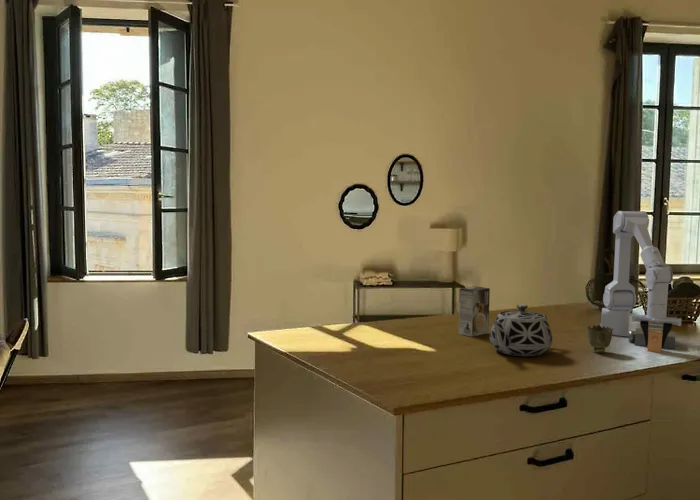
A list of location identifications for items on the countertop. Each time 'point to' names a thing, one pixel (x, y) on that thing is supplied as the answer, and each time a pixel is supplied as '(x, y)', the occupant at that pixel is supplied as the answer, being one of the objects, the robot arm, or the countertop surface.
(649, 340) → the tan single stud brick
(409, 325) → the countertop surface
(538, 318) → the patterned lidded jar
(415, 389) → the countertop surface
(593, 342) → the cup
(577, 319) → the countertop surface
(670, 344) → the grey plate with rails
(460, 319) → the coffee box
